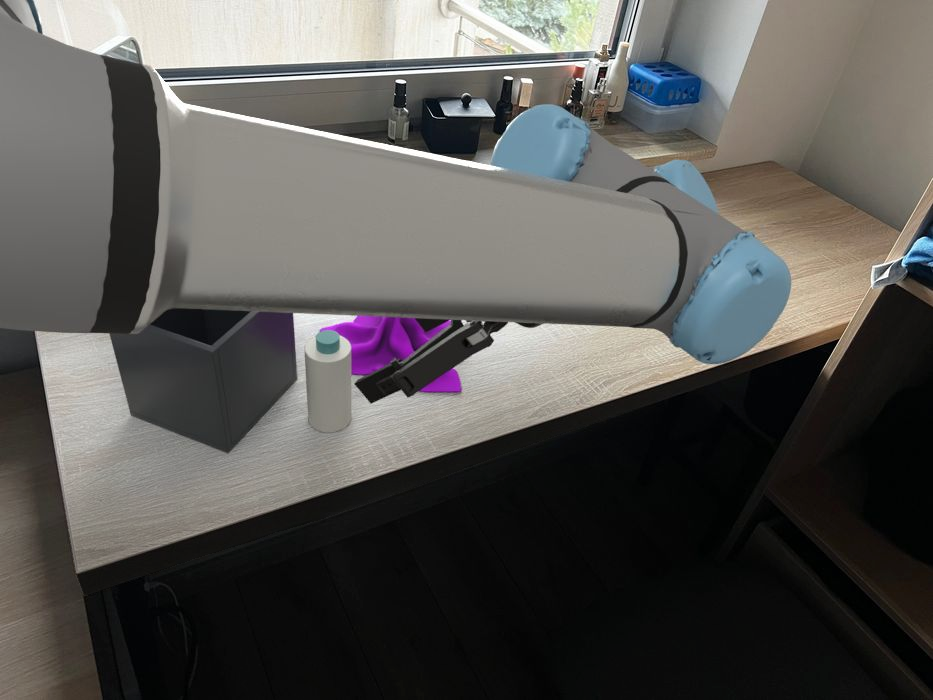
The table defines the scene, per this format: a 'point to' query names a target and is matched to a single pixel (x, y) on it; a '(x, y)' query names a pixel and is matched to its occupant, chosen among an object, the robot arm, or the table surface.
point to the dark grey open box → (207, 371)
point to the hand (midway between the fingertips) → (393, 354)
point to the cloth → (390, 346)
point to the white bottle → (328, 381)
